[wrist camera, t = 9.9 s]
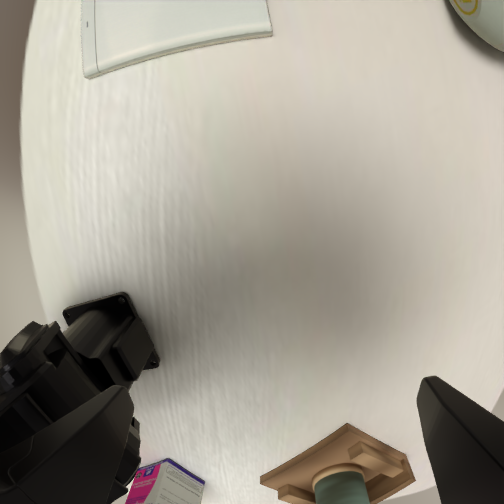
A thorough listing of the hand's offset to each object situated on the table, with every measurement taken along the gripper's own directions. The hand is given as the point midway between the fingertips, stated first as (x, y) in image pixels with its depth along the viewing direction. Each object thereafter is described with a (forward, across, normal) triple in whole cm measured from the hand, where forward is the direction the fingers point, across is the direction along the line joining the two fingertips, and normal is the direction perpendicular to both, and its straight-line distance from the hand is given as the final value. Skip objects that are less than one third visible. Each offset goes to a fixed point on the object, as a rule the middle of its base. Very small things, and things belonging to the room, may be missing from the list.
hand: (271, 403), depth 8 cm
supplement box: (+12, +13, +25) cm, 31 cm away
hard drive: (+14, +6, -18) cm, 23 cm away
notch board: (+12, -5, +25) cm, 28 cm away
